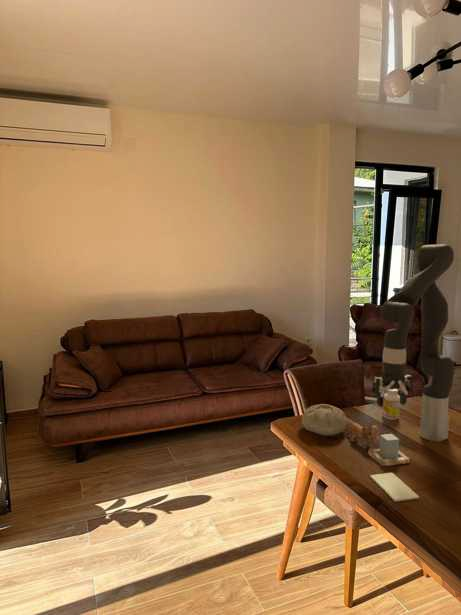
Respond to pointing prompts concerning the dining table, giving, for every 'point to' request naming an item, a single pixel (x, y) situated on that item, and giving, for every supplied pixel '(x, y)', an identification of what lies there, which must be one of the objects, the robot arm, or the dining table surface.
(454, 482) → the dining table surface
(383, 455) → the block
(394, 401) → the supplement bottle
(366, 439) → the lion figurine
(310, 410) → the decorative shell
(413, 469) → the dining table surface
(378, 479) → the tile
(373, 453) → the pocket frame
